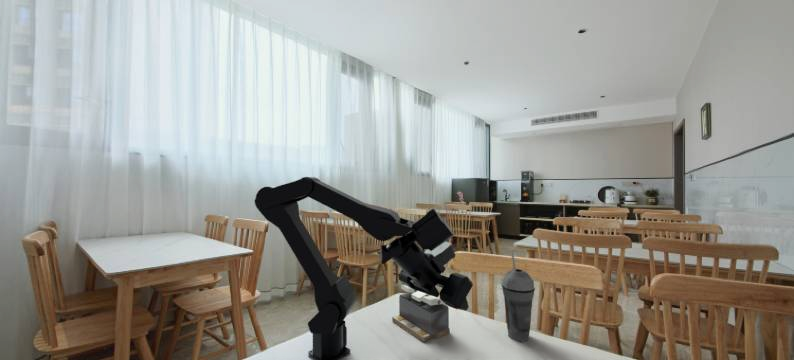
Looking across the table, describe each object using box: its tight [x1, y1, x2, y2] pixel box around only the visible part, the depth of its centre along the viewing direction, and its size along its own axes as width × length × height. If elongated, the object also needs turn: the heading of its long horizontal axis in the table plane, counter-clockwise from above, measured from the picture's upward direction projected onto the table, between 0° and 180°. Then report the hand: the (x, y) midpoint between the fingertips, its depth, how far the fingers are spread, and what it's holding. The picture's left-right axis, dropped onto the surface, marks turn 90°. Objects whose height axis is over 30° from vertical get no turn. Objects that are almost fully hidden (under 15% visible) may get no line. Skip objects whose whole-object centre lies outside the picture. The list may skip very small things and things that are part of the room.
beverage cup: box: [501, 250, 536, 342], centre depth 71 cm, size 7×7×20 cm
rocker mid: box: [411, 291, 431, 302], centre depth 77 cm, size 5×3×1 cm
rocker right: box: [422, 295, 445, 305], centre depth 73 cm, size 5×3×1 cm
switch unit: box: [391, 292, 451, 343], centre depth 76 cm, size 8×13×6 cm, turn 34°
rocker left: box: [400, 284, 417, 293], centre depth 81 cm, size 5×3×1 cm
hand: (451, 301), depth 69 cm, fingers open, 9 cm apart
